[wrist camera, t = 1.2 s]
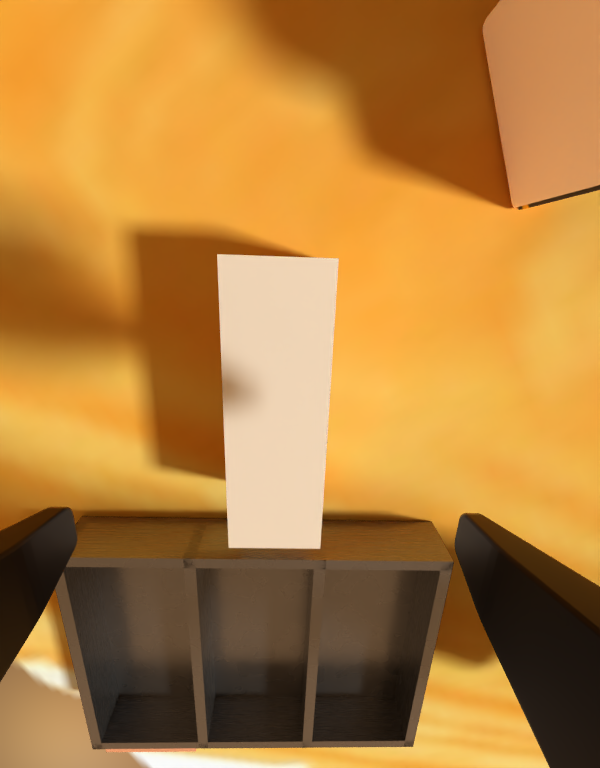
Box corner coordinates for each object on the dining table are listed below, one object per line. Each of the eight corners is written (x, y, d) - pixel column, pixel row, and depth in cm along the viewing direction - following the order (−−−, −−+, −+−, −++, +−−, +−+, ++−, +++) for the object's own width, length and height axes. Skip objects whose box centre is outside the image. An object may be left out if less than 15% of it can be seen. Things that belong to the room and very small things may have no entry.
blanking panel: (325, 261, 16) (338, 258, 12) (313, 482, 20) (320, 548, 15) (238, 258, 16) (217, 254, 12) (243, 481, 20) (228, 547, 15)
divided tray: (431, 521, 21) (454, 561, 18) (398, 696, 26) (412, 749, 23) (82, 516, 20) (47, 557, 17) (116, 697, 25) (93, 752, 22)
